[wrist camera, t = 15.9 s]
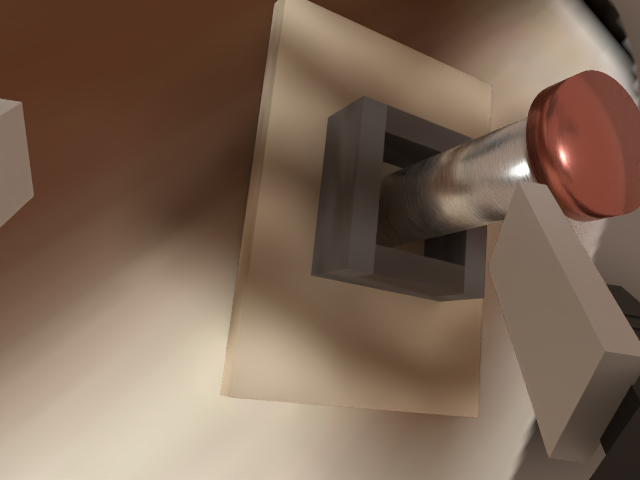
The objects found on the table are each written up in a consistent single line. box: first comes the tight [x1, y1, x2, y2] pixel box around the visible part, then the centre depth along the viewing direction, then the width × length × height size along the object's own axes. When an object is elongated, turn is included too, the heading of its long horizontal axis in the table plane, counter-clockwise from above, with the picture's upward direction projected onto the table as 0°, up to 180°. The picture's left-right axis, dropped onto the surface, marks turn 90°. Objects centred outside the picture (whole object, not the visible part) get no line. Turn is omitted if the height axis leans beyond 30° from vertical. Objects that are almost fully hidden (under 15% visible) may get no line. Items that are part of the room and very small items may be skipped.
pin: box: [376, 70, 640, 248], centre depth 28 cm, size 6×6×14 cm
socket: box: [221, 0, 492, 418], centre depth 33 cm, size 22×16×5 cm
